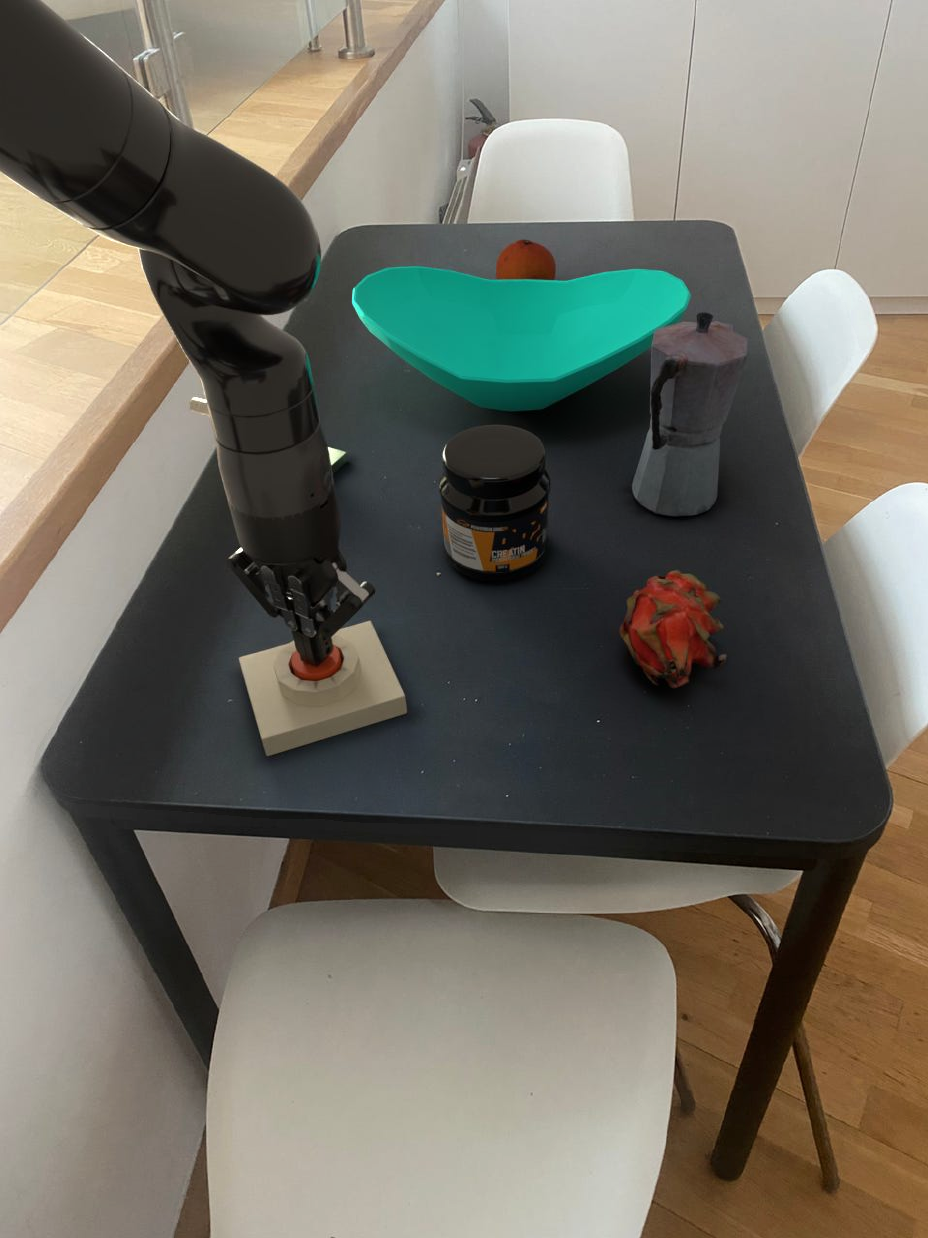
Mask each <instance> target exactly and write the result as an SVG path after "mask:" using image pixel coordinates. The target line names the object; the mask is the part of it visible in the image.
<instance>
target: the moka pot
mask: <svg viewBox="0 0 928 1238" xmlns="http://www.w3.org/2000/svg"><path fill="white" fill-rule="evenodd" d="M713 319H714V315H713V314H711V313H710V312H704V311H703V312H698V313H697V314H696V322H693V321H680V322H679V323H677V324H673V325H670V326H666V327H662V328H659V329H656V330H655V332H654V336H653V342H652V346H651V347H650V395H649V396H650V399H649V414H650V422H649V429H648V431H647V434H646V438H645V441H644V444H643V448H642V451H641V455H640V458H639V461H638V465H637V468H636V471H635V474H634V476H633V480H632V483H631V490H632V495H633V497H634V499H635V500H636V501H637V502H638V503H639V504H640V505H641V506H642V507H644V508H646V509H647V510H649V511H651V512H653V513H654V514H657V515H661V516H668V517H691V516H696V515H699V514H703V513H705V512H707V511H709V510H710V509H711V508H712V506H713V505H714V504H715V503H716V501H717V497H718V488H719V487H718V484H719V483H718V482H719V470H720V468H719V467H720V466H719V465H720V451H721V450H720V448H721V438H720V437H721V436H720V435H721V433H722V430H723V426H724V424H725V422H726V421H727V418H728V415H729V413H730V410H731V406H732V404H733V401H734V398H735V394H736V391H737V389H738V386H739V382H740V380H741V376H742V374H743V371H744V368H745V364H746V361H747V359H748V345H749V344H748V343H749V340H748V338H747V337H745V336H743V335H741V334H739V333H737V332H735V331H734V330H733V328H734V324H732V323H725V322H721V321H719V320H715V321H713Z"/></svg>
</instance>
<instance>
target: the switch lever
mask: <svg viewBox="0 0 928 1238" xmlns="http://www.w3.org/2000/svg"><path fill="white" fill-rule="evenodd" d="M189 410H190V411H191V412H192V413H196V414H199V415H203V416H207V417H209V418H210V415H209V411H208V407H207V403H206V399H205V398H204V399H203V398H199V397H192V398H191V399H190V401H189Z"/></svg>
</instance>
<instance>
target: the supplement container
mask: <svg viewBox="0 0 928 1238" xmlns="http://www.w3.org/2000/svg"><path fill="white" fill-rule="evenodd" d="M546 455H547V452H546V447H545V445H544V443H543V442H542V440H541V439H540V438H539V437H538V436H537V435H535V434H534V433H532V432H531V431H528V430H526V429H523V428H521V427H517V426H513V425H508V424H507V425H506V424H486V425H479V426H474V427H471V428H467V429H464V430H462V431H461V432H458V433H457V434H455V435H454V436H452V437H451V438H450V439H449V440H448V441H447V442H446V444H445V445H444V446H443V449H442V452H441V458H442V473H441V475H440V477H439V481H438V492H439V497H440V504H441V518H442V519H441V520H442V533H443V540H442V543H443V544H442V545H443V552H444V555H445V558H446V559H447V561H448V562H449V564H450V565H451V566H452V567H453V568H454V569H455V570H456V571H458V572H459V573H461V574H463V575H465V576H467V577H469V578H471V579H472V578H473V579H476V580H480V581H487V582H502V581H503V582H504V581H510V580H514V579H517V578H521V577H522V576H525V575H527V574H530V573H531V572H532V571H534V570H535V569H536V568H538V566H540V564H541V563H542V562H543V561H544V559H545V557H546V555H547V552H548V548H549V536H548V533H549V532H548V531H549V499H550V498H549V497H550V492H551V478H550V475H549V473H548V471H547V470H546Z"/></svg>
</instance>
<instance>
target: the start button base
mask: <svg viewBox="0 0 928 1238" xmlns="http://www.w3.org/2000/svg"><path fill="white" fill-rule="evenodd" d="M331 638H332V644H333V645H335V646H336V647H337V648H338V650H339V653H340V658H341V663H342V667H341V669H340V670H339V671H338V672H337V673H335V674H334V675H333V676H332V677H330V678H326V679H323V680H319V681H306V680H301V679H299V678H298V677H296V676H295V674H294V670H293V666H292V656H293V654H294V652H295V651H296V648H295V643H294V639H293V640H292V641H290V642H289V643H286V644H282V645H278V646H275V647H271V648H268V649H264V650H260V651H258V652H254V653H249V654H247V655H243V656H240V657H238V661H239V666H240V669H241V672H242V676H243V680H244V683H245V687H246V690H247V693H248V698H249V700H250V704H251V707H252V710H253V715H254V718H255V721H256V724H257V728H258V732H259V734H260V739H261V742H262V747H263V749H264V753H265V756H266V757H270V756H273V755H276V754H280V753H283V752H286V751H290V750H293V749H296V748H299V747H302V746H306V745H309V744H312V743H315V742H316V743H317V742H319V741H321V740H325V739H329V738H331V737H334V736H338V735H342V734H344V733H348V732H351V731H353V730H358V729H360V728H361V729H362V728H364V727H367V726H370V725H373V724H377V723H380V722H383V721H386V720H390V719H393V718H396V717H400V716H403V715H406V714H407V713H408V708H407V700H406V694H405V692H404V690H403V688H402V686H401V684H400V681H399V679H398V677H397V675H396V672H395V670H394V668H393V666H392V664H391V662H390V659H389V657H388V655H387V653H386V651H385V649H384V646H383V645H382V642H381V639H380V638H379V635H378V633H377V631H376V629H375V626H374V625H373V622H372V621H371V620H368V621H364V622H361V623H357V624H354V625H349V626H346V627H341V628H340V629H339V630H338V631H337V632H336V633H335V634H334V635H333V636H332V637H331Z"/></svg>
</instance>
